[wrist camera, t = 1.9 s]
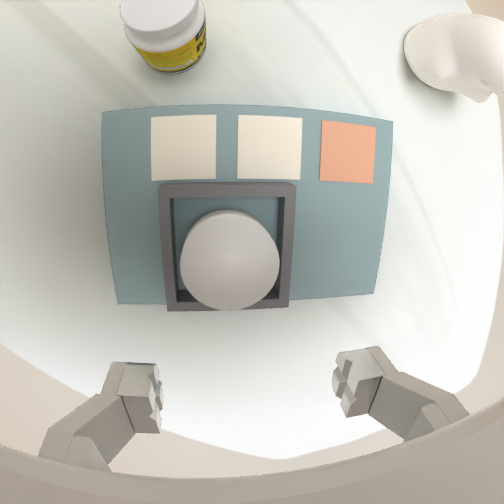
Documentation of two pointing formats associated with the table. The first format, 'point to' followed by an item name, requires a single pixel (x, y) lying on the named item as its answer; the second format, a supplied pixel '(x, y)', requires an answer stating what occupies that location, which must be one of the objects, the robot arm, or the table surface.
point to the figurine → (458, 54)
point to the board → (246, 195)
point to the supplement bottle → (166, 32)
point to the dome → (229, 260)
